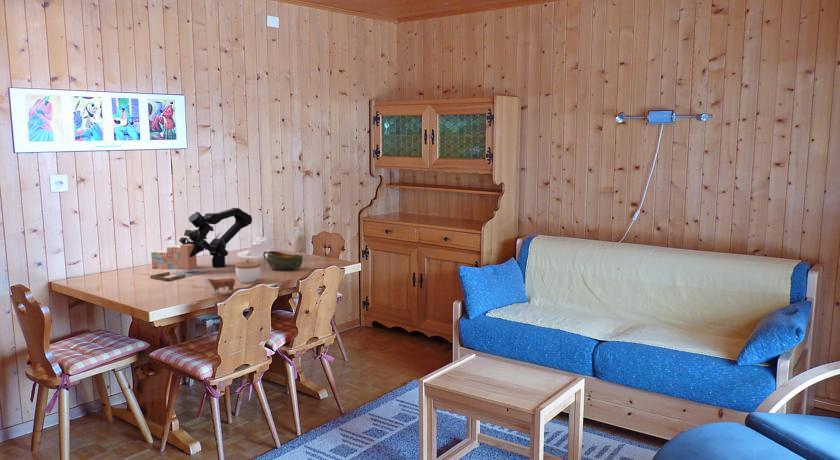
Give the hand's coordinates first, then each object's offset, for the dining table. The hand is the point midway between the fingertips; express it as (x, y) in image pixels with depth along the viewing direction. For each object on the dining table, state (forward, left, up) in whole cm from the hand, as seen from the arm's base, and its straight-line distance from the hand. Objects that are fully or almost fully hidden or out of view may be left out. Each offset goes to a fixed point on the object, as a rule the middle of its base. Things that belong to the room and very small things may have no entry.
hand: (186, 256), depth 352 cm
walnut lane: (+8, +10, -9) cm, 16 cm away
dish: (-32, -52, -10) cm, 62 cm away
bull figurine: (-24, +48, -10) cm, 54 cm away
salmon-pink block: (-1, -1, -7) cm, 7 cm away
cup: (-50, -4, -10) cm, 51 cm away
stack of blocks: (+11, -17, -10) cm, 22 cm away
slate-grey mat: (-1, -1, -9) cm, 9 cm away
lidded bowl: (-34, +23, -10) cm, 42 cm away
